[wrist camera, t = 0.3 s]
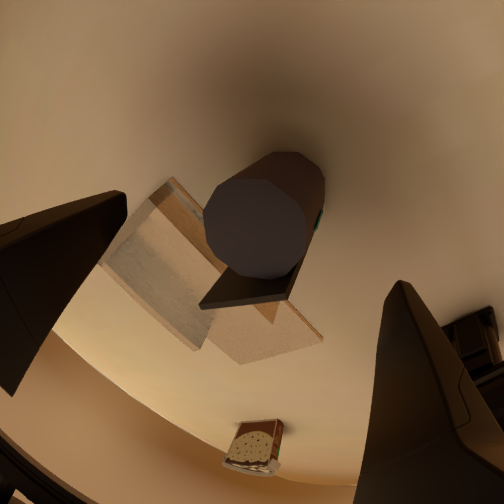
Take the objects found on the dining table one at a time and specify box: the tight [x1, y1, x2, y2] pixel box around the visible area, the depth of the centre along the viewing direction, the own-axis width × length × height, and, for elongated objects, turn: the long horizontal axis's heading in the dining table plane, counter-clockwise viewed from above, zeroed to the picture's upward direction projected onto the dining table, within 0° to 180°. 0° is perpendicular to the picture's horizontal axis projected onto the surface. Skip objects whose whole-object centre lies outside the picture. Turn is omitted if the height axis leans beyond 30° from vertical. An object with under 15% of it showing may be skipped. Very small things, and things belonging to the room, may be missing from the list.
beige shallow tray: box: [98, 177, 323, 365], centre depth 30 cm, size 22×13×4 cm, turn 42°
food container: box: [222, 419, 284, 476], centre depth 47 cm, size 12×6×10 cm, turn 133°
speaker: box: [198, 152, 324, 310], centre depth 19 cm, size 8×6×10 cm
